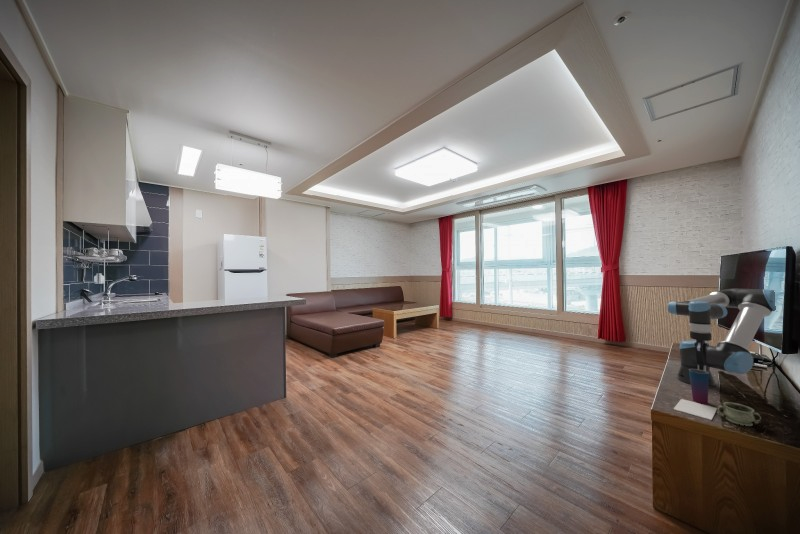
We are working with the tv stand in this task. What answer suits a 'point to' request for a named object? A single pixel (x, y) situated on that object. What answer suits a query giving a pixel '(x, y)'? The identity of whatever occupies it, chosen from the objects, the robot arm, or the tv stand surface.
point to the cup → (699, 385)
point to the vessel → (739, 414)
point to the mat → (696, 409)
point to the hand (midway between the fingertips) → (702, 377)
